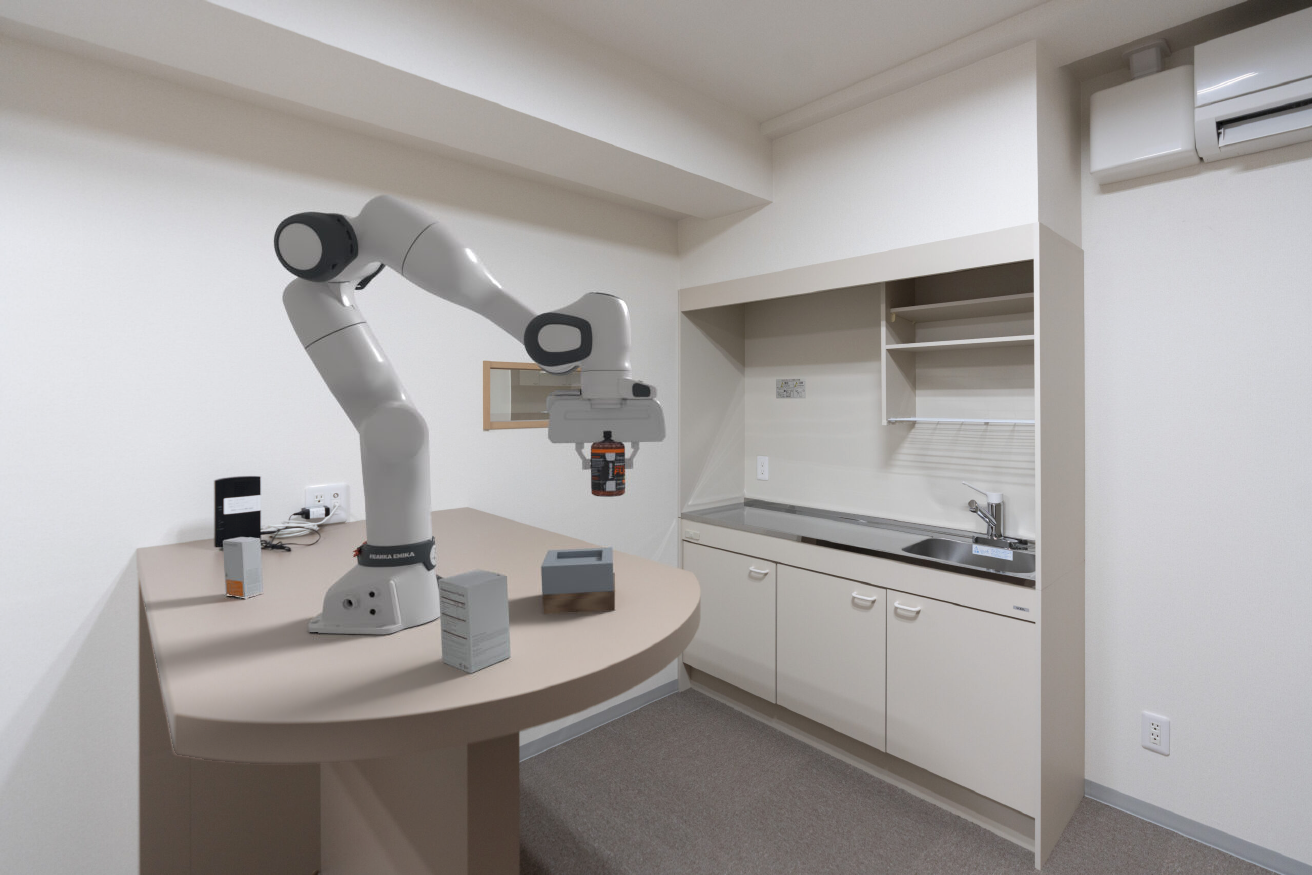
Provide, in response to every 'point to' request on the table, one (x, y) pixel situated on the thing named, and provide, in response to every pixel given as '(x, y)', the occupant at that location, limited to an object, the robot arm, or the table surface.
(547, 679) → the table surface
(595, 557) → the slate grey top slab
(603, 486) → the supplement bottle
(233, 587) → the skincare box
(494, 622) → the supplement box
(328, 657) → the table surface
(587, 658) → the table surface
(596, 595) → the walnut bottom slab
